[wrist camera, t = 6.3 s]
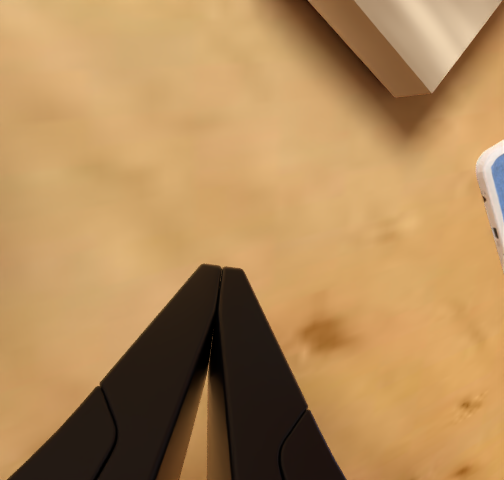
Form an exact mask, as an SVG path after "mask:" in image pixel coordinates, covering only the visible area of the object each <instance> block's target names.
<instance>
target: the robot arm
mask: <svg viewBox="0 0 504 480" xmlns="http://www.w3.org/2000/svg"><path fill="white" fill-rule="evenodd" d="M221 272H222V274H221ZM220 280H221V281H220ZM219 287H220V288H219ZM212 338H213V339H212ZM211 345H212V346H211ZM210 352H211V353H210ZM209 359H210V361H209ZM208 365H209V370H208ZM207 371H208V420H207V480H346V478H345V476H344V474H343V473H342V471H341V469H340V468H339V466H338V464H337V462H336V461H335V459H334V457H333V455H332V453H331V451H330V449H329V447H328V445H327V443H326V441H325V439H324V437H323V435H322V433H321V432H320V430H319V427H318V425H317V423H316V421H315V419H314V417H313V415H312V413H311V411H310V410H307V409H308V405H307V403H306V401H305V398H304V396H303V394H302V392H301V390H300V388H299V386H298V384H297V382H296V380H295V377H294V375H293V373H292V371H291V369H290V367H289V365H288V363H287V361H286V359H285V356H284V354H283V352H282V350H281V348H280V346H279V344H278V342H277V340H276V338H275V335H274V333H273V331H272V329H271V327H270V325H269V323H268V321H267V319H266V316H265V314H264V312H263V310H262V308H261V306H260V304H259V302H258V300H257V298H256V295H255V293H254V291H253V289H252V287H251V285H250V283H249V281H248V279H247V277H246V274H245V272H244V271H243V270H242V269H240V268H233V267H223V269H222V268H221V267H220V266H218V265H211V264H201V265H200V266H199V267H198V269H197V270H196V271H195V272H194V273H193V274H192V276H191V277H190V278H189V279H188V280H187V281H186V283H185V284H184V285H183V286H182V287H181V288H180V290H179V291H178V292H177V293H176V294H175V295H174V297H173V298H172V299H171V300H170V301H169V302H168V304H167V305H166V306H165V307H164V308H163V309H162V311H161V312H160V313H159V314H158V315H157V316H156V318H155V319H154V320H153V321H152V322H151V323H150V325H149V326H148V327H147V328H146V329H145V330H144V332H143V333H142V334H141V335H140V336H139V338H138V339H137V340H136V341H135V342H134V343H133V345H132V346H131V347H130V348H129V349H128V350H127V352H126V353H125V354H124V355H123V356H122V357H121V359H120V360H119V361H118V362H117V363H116V364H115V366H114V367H113V368H112V369H111V370H110V371H109V373H108V374H107V375H106V376H105V377H104V378H103V380H102V381H101V382H100V386H97V387H95V389H94V390H93V391H92V392H91V393H90V395H89V396H88V397H87V398H86V399H85V400H84V402H83V403H82V404H81V405H80V406H79V407H78V408H77V409H76V411H75V412H74V413H73V414H72V415H71V416H70V417H69V418H68V419H67V420H66V422H65V423H64V424H63V425H62V426H61V427H60V428H59V429H58V430H57V431H56V432H55V433H54V434H53V435H52V436H51V437H50V438H49V439H48V440H47V441H46V442H45V443H44V444H43V445H42V446H41V447H40V448H39V449H38V450H37V451H36V452H35V453H34V454H33V455H32V456H31V457H30V458H29V459H28V460H27V461H26V462H25V463H24V464H23V465H22V466H21V467H20V468H19V469H18V470H17V471H16V472H15V473H14V474H13V475H11V476H10V477H9V478H8V479H7V480H179V478H180V474H181V470H182V467H183V463H184V459H185V455H186V452H187V448H188V444H189V440H190V437H191V433H192V429H193V425H194V422H195V418H196V414H197V410H198V407H199V403H200V399H201V395H202V392H203V388H204V384H205V380H206V376H207Z"/></svg>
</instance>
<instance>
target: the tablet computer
mask: <svg viewBox="0 0 504 480" xmlns="http://www.w3.org/2000/svg"><path fill="white" fill-rule="evenodd" d="M476 176H477V180H478V184H479V187H480V190H481V194H482V196H483V197H484V198H485V202H484V203H485V209H486V212H487V215H488V219H489V223H490V226H491V229H492V232H493V236H494V240H495V243H496V247H497V251H498V254H499V258H500V262H501V265H502V269H503V272H504V139H503V140H502V141H500V142H499V143H497V144H495V145H494V146H492V147H490V148H489V149H487V150H486V151H484V152H483V153H482V154H481V156H480V157H479V158H478V161H477V164H476Z"/></svg>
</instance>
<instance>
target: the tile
mask: <svg viewBox="0 0 504 480" xmlns="http://www.w3.org/2000/svg"><path fill="white" fill-rule="evenodd" d="M308 1H309V2H310V4H311V5H312V6H313V7H314V8H315V9H316V10H317V11H318V12H319V14H320V15H321V16H322V17H323V18H324V19H325V20H326V21H327V23H328V24H329V25H330V26H331V27H332V28H333V29H334V30H335V31H336V33H337V34H338V35H339V36H340V37H341V38H342V39H343V40H344V42H345V43H346V44H347V45H348V46H349V47H350V48H351V49H352V50H353V52H354V53H355V54H356V55H357V56H358V57H359V58H360V59H361V61H362V62H363V63H364V64H365V65H366V66H367V67H368V68H369V69H370V71H371V72H372V73H373V74H374V75H375V76H376V77H377V78H378V80H379V81H380V82H381V83H382V84H383V85H384V86H385V87H386V88H387V90H388V91H389V92H390V93H391V94H392V95H393V96H394V97H395V98H397V97H406V96H415V95H423V94H432V93H433V92H434V90H435V89H436V88H437V86H438V85H439V84H440V82H441V81H442V80H443V78H444V77H445V76H446V74H447V73H448V72H449V70H450V69H451V68H452V66H453V65H454V64H455V62H456V61H457V60H458V59H459V57H460V56H461V55H462V53H463V52H464V51H465V49H466V48H467V47H468V45H469V44H470V43H471V41H472V40H473V39H474V37H475V36H476V35H477V33H478V32H479V31H480V29H481V28H482V27H483V25H484V24H485V23H486V21H487V20H488V19H489V18H490V16H491V15H492V14H493V12H494V11H495V10H496V8H497V7H498V6H499V4H500V3H501V2H502V0H308Z"/></svg>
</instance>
